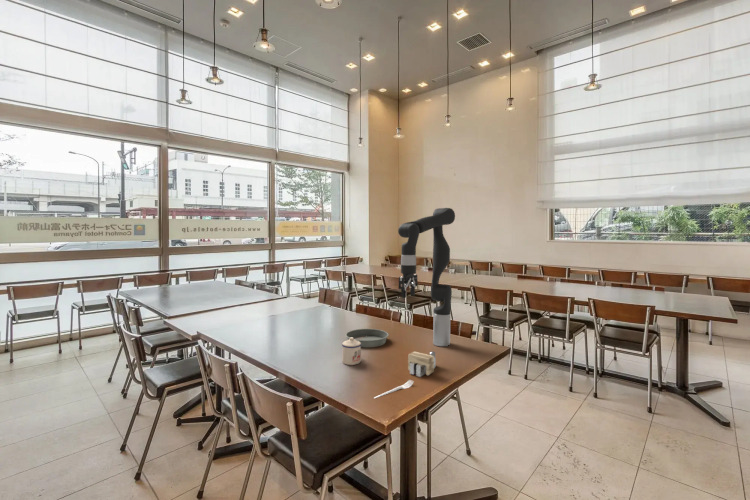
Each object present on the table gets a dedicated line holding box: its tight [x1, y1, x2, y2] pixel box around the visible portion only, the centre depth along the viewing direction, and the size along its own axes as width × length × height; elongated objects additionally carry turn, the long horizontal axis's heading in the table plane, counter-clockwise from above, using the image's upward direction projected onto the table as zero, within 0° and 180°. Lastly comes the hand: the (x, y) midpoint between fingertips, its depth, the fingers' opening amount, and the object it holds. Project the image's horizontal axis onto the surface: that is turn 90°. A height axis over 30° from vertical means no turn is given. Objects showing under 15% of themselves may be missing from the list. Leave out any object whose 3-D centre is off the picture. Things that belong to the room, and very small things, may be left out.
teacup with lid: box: [341, 337, 362, 366], centre depth 171 cm, size 12×9×12 cm
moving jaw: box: [409, 350, 436, 375], centre depth 161 cm, size 17×4×6 cm, turn 141°
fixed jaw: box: [415, 356, 437, 378], centre depth 159 cm, size 14×2×5 cm, turn 143°
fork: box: [373, 379, 415, 399], centre depth 139 cm, size 3×20×2 cm, turn 130°
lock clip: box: [407, 351, 435, 376], centre depth 157 cm, size 5×10×7 cm, turn 53°
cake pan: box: [344, 328, 390, 348], centre depth 203 cm, size 25×25×4 cm
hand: (408, 296), depth 178 cm, fingers open, 8 cm apart
